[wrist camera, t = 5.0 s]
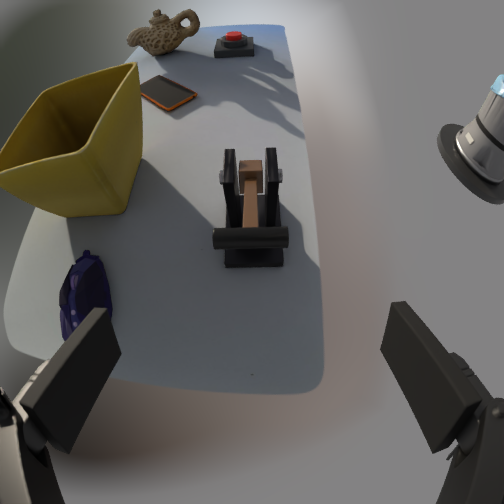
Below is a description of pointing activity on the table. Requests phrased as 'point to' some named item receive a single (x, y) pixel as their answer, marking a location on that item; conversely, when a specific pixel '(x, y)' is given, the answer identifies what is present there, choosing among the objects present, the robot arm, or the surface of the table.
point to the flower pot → (78, 145)
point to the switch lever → (250, 216)
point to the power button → (233, 36)
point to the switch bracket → (266, 211)
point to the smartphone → (166, 92)
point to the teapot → (164, 32)
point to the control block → (234, 47)
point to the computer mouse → (83, 292)
